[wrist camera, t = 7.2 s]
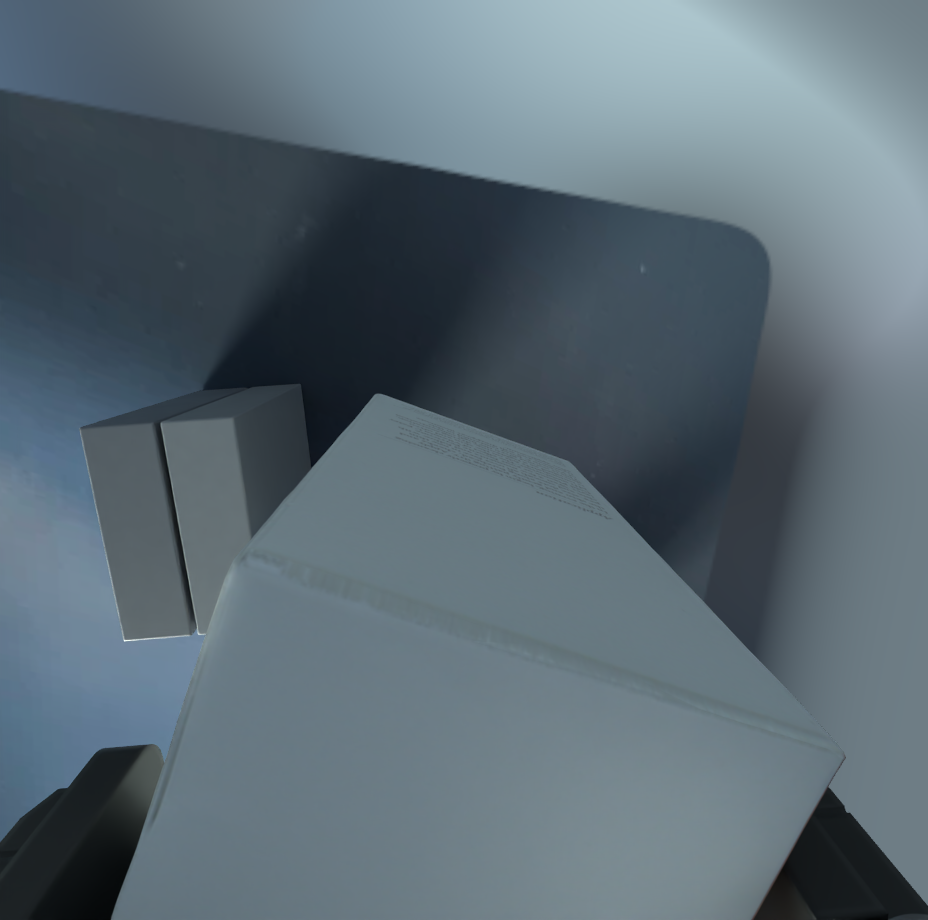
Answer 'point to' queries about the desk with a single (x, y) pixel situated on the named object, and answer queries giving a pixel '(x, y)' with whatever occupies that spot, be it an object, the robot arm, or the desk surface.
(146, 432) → the grey books
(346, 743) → the small box
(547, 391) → the desk surface
